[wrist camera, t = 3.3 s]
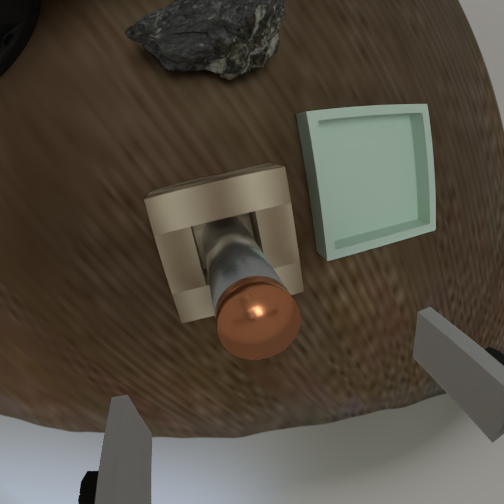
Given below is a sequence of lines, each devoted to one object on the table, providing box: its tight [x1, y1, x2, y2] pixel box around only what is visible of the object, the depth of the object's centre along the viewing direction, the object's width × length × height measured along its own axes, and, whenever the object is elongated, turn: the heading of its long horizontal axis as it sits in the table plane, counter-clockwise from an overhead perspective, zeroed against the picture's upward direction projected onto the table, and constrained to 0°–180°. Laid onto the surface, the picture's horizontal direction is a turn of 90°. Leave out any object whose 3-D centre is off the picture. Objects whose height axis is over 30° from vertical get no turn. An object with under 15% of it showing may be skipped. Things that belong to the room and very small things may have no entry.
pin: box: [202, 216, 301, 360], centre depth 24 cm, size 4×4×16 cm
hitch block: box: [144, 163, 304, 323], centre depth 30 cm, size 12×12×5 cm
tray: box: [296, 104, 436, 261], centre depth 32 cm, size 15×15×3 cm
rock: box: [125, 0, 285, 80], centre depth 23 cm, size 12×10×10 cm
